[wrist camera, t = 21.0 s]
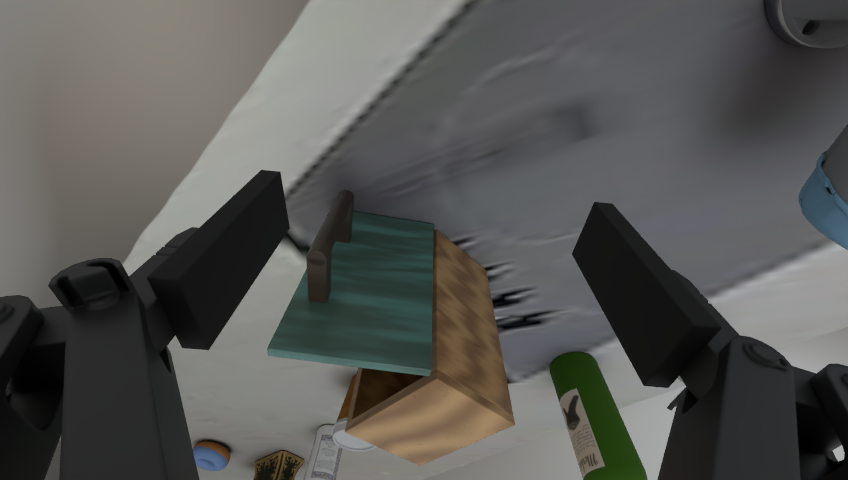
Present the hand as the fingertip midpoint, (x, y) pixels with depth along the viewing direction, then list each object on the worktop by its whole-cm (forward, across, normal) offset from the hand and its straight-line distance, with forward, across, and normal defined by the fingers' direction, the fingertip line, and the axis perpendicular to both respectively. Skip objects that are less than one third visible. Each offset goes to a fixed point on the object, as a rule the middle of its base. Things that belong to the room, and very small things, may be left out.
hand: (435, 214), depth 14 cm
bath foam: (+29, -17, -82) cm, 89 cm away
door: (+29, -5, -15) cm, 33 cm away
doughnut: (+29, -50, -97) cm, 113 cm away
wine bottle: (+29, +32, -48) cm, 65 cm away
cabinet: (+29, +2, -28) cm, 40 cm away
